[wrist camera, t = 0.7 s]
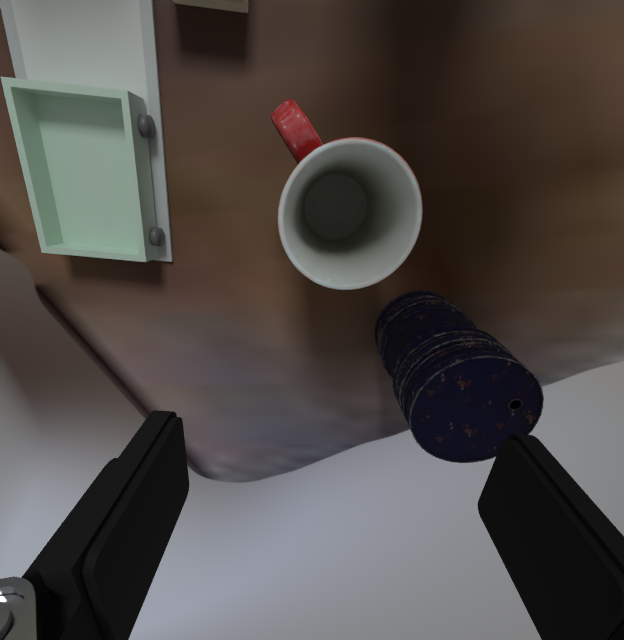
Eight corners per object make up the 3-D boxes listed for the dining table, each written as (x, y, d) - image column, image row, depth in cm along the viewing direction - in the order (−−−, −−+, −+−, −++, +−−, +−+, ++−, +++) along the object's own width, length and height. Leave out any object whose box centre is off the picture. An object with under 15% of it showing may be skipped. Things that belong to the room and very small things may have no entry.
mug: (395, 224, 32) (446, 246, 20) (319, 268, 34) (322, 313, 22) (336, 98, 28) (353, 27, 16) (253, 156, 30) (210, 133, 18)
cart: (20, 86, 28) (-10, 75, 25) (153, 100, 28) (136, 91, 25) (55, 246, 33) (33, 251, 31) (166, 257, 33) (154, 262, 31)
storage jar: (382, 374, 39) (419, 475, 26) (364, 303, 36) (395, 376, 22) (463, 354, 38) (547, 448, 24) (452, 278, 35) (544, 338, 21)
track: (-35, -167, 22) (-100, -233, 19) (142, -144, 23) (110, -204, 19) (56, 250, 34) (26, 257, 30) (172, 261, 34) (156, 269, 31)
